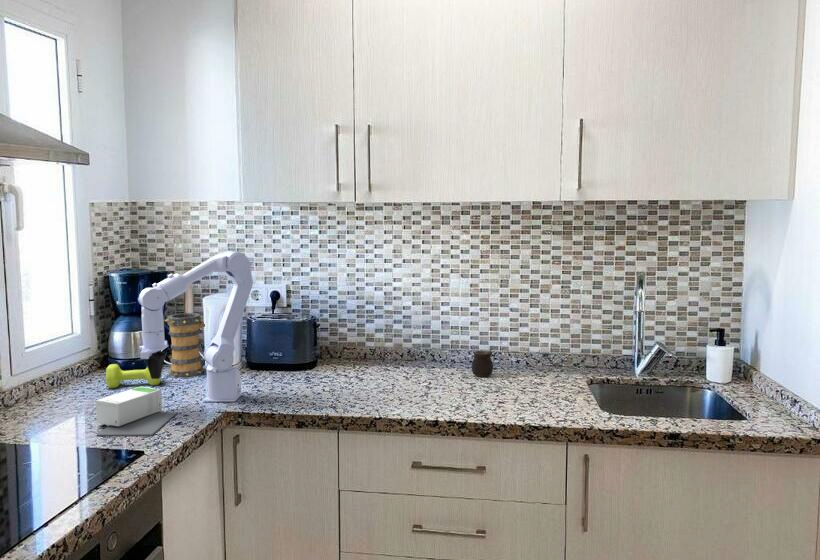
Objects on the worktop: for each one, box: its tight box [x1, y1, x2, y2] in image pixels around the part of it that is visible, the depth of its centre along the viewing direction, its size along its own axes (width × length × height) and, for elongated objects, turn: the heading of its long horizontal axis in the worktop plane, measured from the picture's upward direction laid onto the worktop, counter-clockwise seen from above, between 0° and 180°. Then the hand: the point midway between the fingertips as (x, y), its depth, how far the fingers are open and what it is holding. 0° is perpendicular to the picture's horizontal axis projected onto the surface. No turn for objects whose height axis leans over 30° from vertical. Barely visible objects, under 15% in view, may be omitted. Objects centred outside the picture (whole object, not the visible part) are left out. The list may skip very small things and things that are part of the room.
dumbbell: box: [105, 363, 162, 389], centre depth 220 cm, size 16×8×7 cm, turn 102°
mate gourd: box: [471, 347, 494, 378], centre depth 227 cm, size 7×8×10 cm
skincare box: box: [95, 386, 163, 427], centre depth 187 cm, size 8×7×16 cm
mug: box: [163, 312, 206, 379], centre depth 234 cm, size 13×17×20 cm
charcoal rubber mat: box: [96, 411, 178, 437], centre depth 183 cm, size 14×18×1 cm
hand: (156, 378), depth 195 cm, fingers closed
